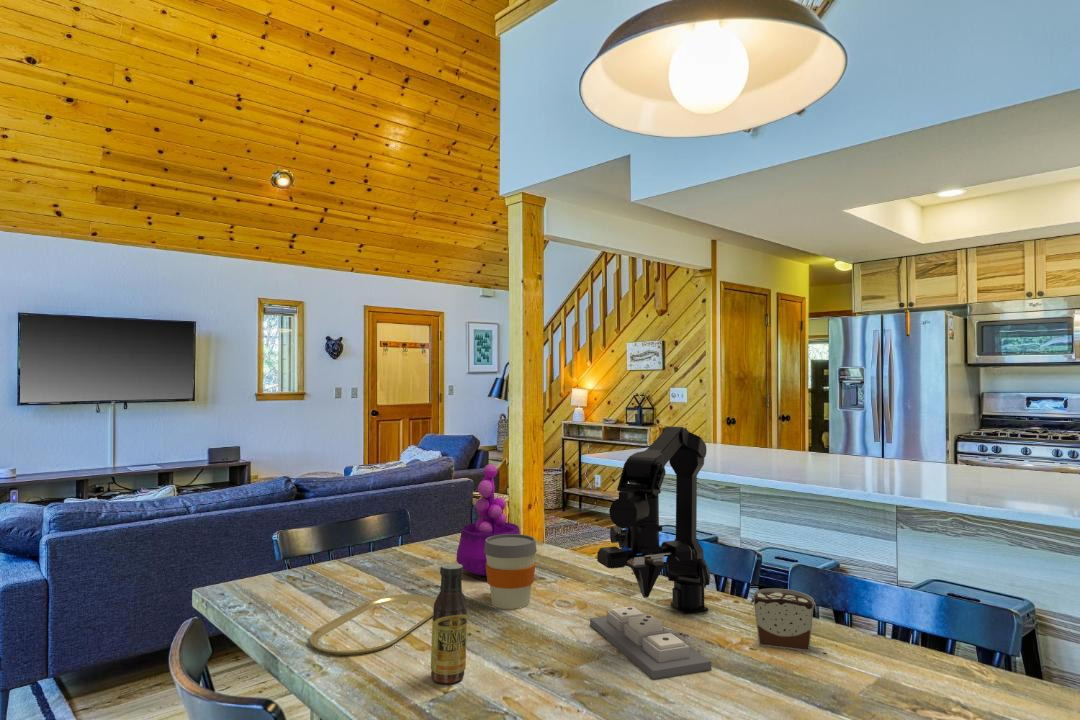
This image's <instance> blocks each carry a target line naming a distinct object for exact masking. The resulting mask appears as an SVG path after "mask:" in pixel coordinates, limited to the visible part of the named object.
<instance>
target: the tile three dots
mask: <svg viewBox="0 0 1080 720" xmlns="http://www.w3.org/2000/svg"><path fill="white" fill-rule="evenodd" d="M644 615H645V616H637V617H630V618H629V627H630V628H631V629H633V630H634V631H635V632H637V633H638V634H639V635H641V634H648V633H655V632H662V631H663V628H664V623H663V622H662V621H661V620H659V619H658V618H656V617H654V616H653V615H652V614H644Z"/></svg>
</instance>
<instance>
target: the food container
mask: <svg viewBox="0 0 1080 720" xmlns="http://www.w3.org/2000/svg"><path fill="white" fill-rule="evenodd" d="M752 604H753V606H754V607H753V608H754V612H755V613H754V614H755V615H754V616H755V622H756V630H757V639H758V640H757V641H758V646H762V647H763V646H764V647H770V648H777V647H780V649H786V648H788V649H787V650H794V649H795V651H796V650H797V651H802V650H803V651H804V652H810V649H811V637H812V629H813V628H812V627H813V618H814V617H813V615H814V610H815V611H816V612H817V611H818V609H817V606H816V602H815V599H814V598H813V597H812V596H810V595H809V594H806V593H804V592H801V591H798V590H792V589H786V588H773V587H772V588H762V589H758V590H756V591H755V592H754V593H753V595H752V596H751V601H750V605H752ZM781 647H782V648H781Z"/></svg>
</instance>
